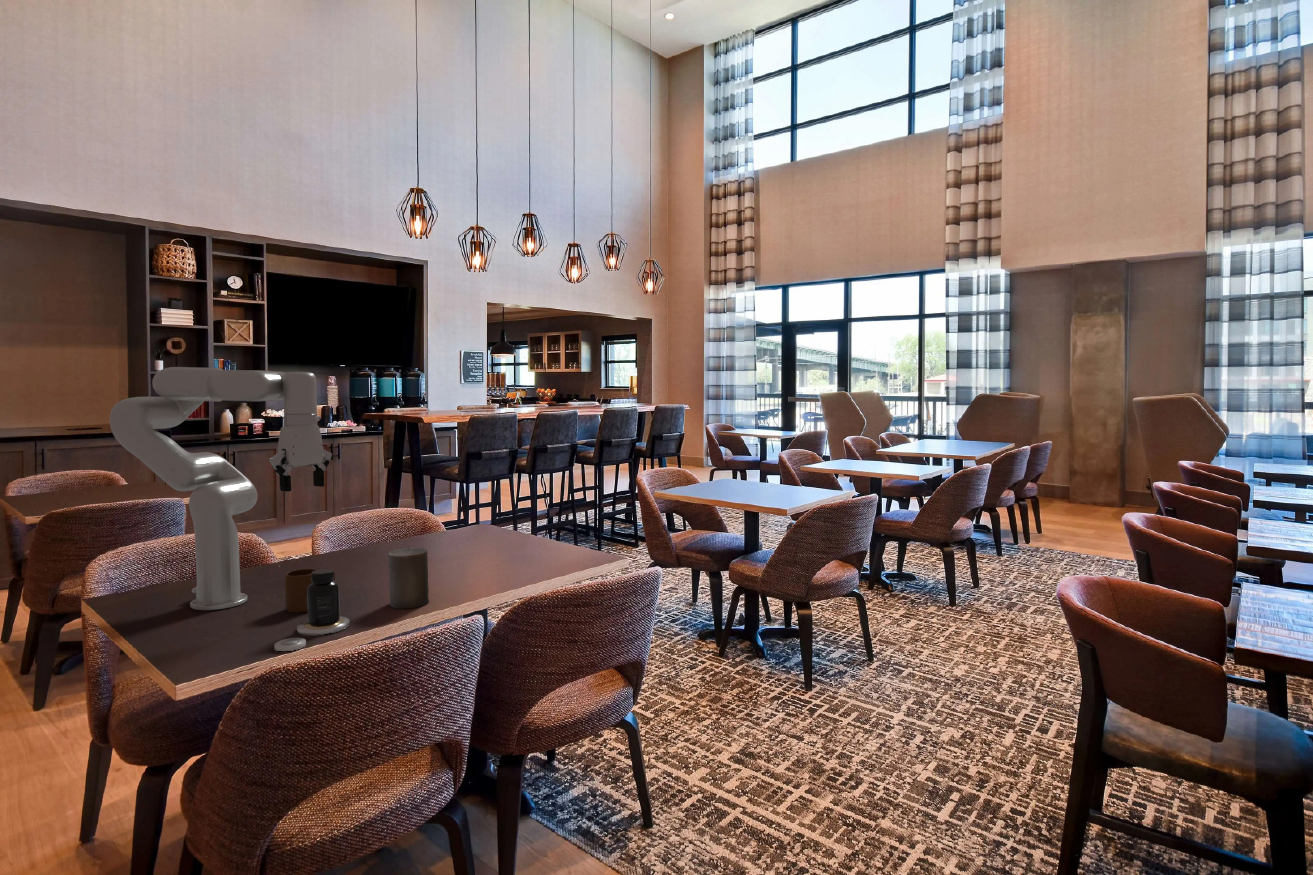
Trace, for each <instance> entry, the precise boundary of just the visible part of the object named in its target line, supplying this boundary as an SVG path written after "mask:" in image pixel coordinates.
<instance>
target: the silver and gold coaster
mask: <svg viewBox="0 0 1313 875" xmlns="http://www.w3.org/2000/svg"><path fill="white" fill-rule="evenodd" d="M348 626H349V627H350V619H349V618H348V617H345V616H341V615H340V619H339V621H338V622H336V623H334V624H331V625H326V626H312V625H310V624H309V623H308V619H306V620H304V621H302V622H300V623H299V624H297V626H296V630H297V633H298V635H299V634H300V635H301V636H307V637H317V636H319V635H321V636H325V635H324V634H328V635H330V634H329V633H333V634H337V633H339V631H340V632H342V631H341V630H343V629H345V630H347V629H348V628H349V627H348ZM347 627H348V628H347ZM346 628H347V629H346ZM343 631H344V630H343ZM336 632H337V633H336Z"/></svg>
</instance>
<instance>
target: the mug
mask: <svg viewBox="0 0 1313 875" xmlns="http://www.w3.org/2000/svg"><path fill="white" fill-rule="evenodd" d="M313 571H317V569H312V568H301V569H295V570H291V571H288V572H286V573H285V575H284V598H285V599H284V601H285V602H284V603H285V609H286V611H287V612H288V613H292V614H301V613H308V609H307V587H308V586H309V585H310V584H311V583H312V581H311V573H312V572H313ZM333 580H334V581H336V574H335V572H334V579H333Z"/></svg>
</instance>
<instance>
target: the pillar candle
mask: <svg viewBox="0 0 1313 875" xmlns="http://www.w3.org/2000/svg"><path fill="white" fill-rule="evenodd" d="M387 554H388V578H389V580H388V581H389V582H388V584H389V605H390V607H391V608H393V609H411V608H419V607H422V606H426V605H427V604H429V602H430V598H429V590H430V589H429V566H428V565H429V564H428V563H429V562H428V550H427V549H426V548H424V547H410V546H408V547H406V548H399V549H394V550H391V551H389V552H388V553H387Z"/></svg>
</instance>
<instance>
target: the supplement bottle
mask: <svg viewBox="0 0 1313 875" xmlns="http://www.w3.org/2000/svg"><path fill="white" fill-rule="evenodd" d="M316 570H317V569H316ZM334 573H335V571H334V569H329V568H328V569H327V568H325V569H318V570H317V571H313V572H312V573H311V581H312V583H311V584H310V585H309V586H308V587H307V609H308V612H307V620H308V623H309V624H310V625H312V626H326V625H331V624H334V623H336V622H338V621H339V619H340V616H341V607H340V606H341V605H340V602H341V601H340V584H339V583H338V582H337V581H336V580H335V581H334V580H333V579H334Z"/></svg>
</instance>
